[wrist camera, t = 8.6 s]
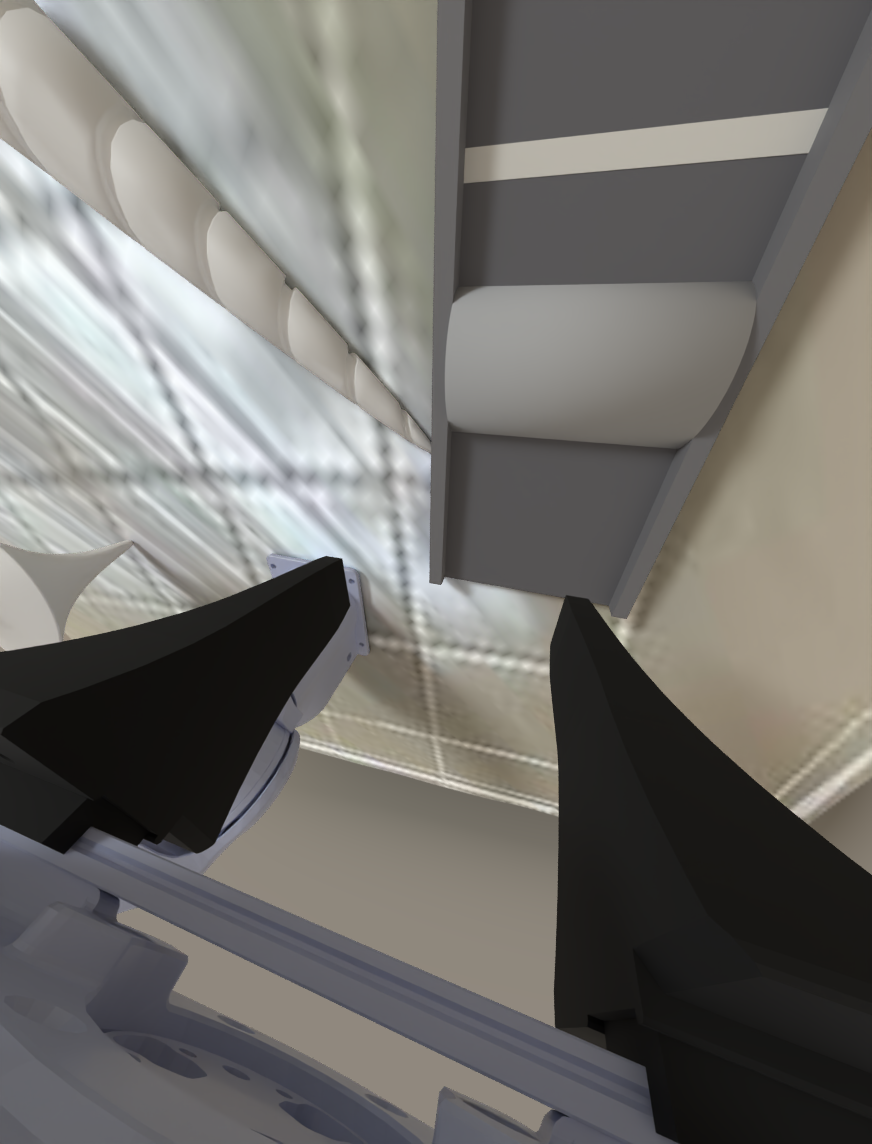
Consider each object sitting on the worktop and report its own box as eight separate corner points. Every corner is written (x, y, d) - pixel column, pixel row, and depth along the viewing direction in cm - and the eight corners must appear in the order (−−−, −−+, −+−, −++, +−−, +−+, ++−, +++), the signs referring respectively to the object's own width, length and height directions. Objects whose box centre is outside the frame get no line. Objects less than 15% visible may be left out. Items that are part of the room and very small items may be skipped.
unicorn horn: (399, 494, 20) (365, 526, 16) (29, 122, 15) (-154, 38, 11) (450, 439, 17) (425, 462, 13) (20, -39, 12) (-226, -228, 8)
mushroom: (56, 484, 28) (-194, 549, 19) (147, 496, 26) (-83, 577, 16) (120, 578, 34) (-44, 664, 24) (200, 595, 32) (53, 697, 22)
